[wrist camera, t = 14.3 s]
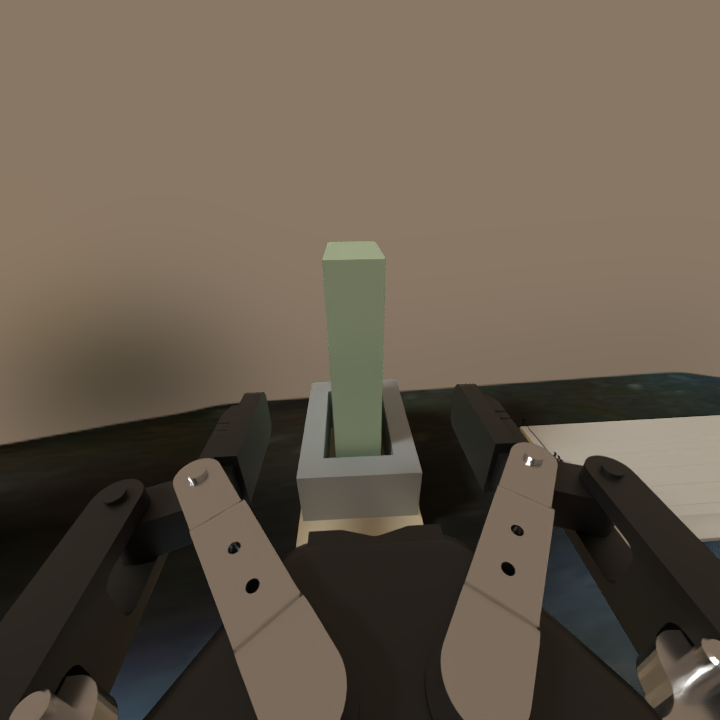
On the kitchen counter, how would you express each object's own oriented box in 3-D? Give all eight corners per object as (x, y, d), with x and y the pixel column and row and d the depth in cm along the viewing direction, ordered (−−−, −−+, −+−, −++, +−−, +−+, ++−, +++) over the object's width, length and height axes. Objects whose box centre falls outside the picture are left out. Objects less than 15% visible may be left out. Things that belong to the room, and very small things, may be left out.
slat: (338, 489, 22) (322, 260, 15) (339, 432, 27) (328, 242, 20) (379, 487, 22) (385, 258, 15) (373, 431, 28) (374, 241, 20)
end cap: (303, 521, 20) (296, 478, 18) (315, 417, 29) (311, 382, 27) (417, 515, 20) (422, 472, 18) (394, 414, 30) (395, 379, 28)
